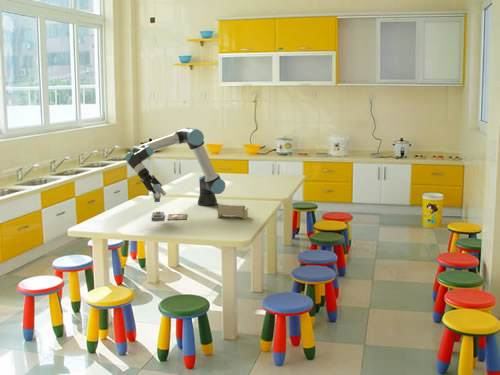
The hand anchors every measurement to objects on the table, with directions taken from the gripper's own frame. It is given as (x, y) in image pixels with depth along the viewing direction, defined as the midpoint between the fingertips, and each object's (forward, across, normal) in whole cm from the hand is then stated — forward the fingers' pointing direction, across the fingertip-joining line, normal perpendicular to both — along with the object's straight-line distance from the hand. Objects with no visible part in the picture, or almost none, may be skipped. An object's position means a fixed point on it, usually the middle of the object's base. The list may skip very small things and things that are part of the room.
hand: (161, 195), depth 447 cm
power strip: (+8, -3, -17) cm, 19 cm away
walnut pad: (+16, -10, -8) cm, 21 cm away
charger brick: (0, 0, -6) cm, 6 cm away
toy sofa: (+41, -28, +16) cm, 52 cm away
